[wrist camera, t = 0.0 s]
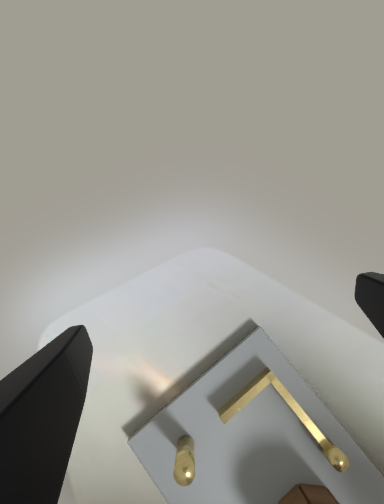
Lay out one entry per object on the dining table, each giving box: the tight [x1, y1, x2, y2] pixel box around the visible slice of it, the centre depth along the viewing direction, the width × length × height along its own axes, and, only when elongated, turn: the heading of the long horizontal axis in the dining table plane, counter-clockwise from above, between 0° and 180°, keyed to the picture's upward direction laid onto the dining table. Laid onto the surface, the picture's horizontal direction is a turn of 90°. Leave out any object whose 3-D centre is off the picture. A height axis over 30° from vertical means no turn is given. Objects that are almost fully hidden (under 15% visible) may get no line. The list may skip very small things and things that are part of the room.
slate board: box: [127, 326, 384, 504], centre depth 20 cm, size 16×14×1 cm
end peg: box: [173, 435, 195, 486], centre depth 19 cm, size 1×1×4 cm
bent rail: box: [218, 367, 349, 472], centre depth 20 cm, size 8×6×2 cm
